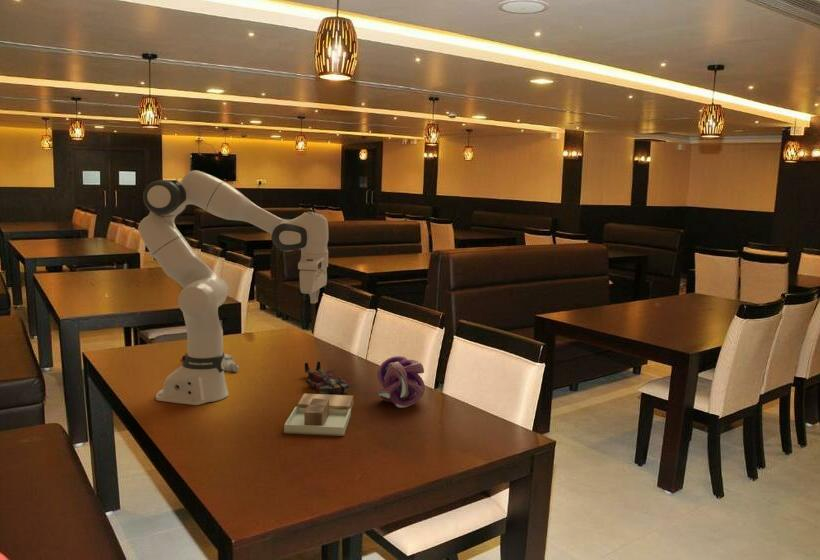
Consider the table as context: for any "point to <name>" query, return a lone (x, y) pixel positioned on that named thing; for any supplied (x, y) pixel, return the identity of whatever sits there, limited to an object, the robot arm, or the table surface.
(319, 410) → the walnut block
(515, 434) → the table surface
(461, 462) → the table surface
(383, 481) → the table surface
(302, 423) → the tray
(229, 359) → the male figure
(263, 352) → the table surface
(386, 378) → the sculpture
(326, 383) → the figurine
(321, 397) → the oak board
